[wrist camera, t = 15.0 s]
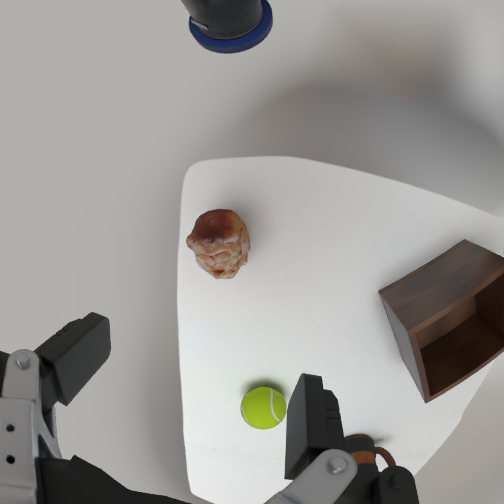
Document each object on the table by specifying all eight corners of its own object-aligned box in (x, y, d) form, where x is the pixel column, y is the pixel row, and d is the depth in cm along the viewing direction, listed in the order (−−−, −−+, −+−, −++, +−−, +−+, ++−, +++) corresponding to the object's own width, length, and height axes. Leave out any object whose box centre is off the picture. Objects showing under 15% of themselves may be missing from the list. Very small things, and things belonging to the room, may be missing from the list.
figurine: (219, 263, 37) (180, 317, 23) (205, 206, 35) (154, 227, 21) (265, 255, 36) (253, 308, 22) (253, 196, 34) (231, 210, 20)
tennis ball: (255, 411, 43) (250, 440, 37) (236, 384, 42) (229, 414, 35) (292, 401, 42) (292, 431, 35) (276, 373, 41) (274, 404, 34)
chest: (402, 359, 38) (425, 404, 27) (378, 291, 36) (406, 331, 25) (478, 311, 34) (513, 343, 24) (464, 239, 32) (510, 260, 22)
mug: (385, 447, 44) (395, 488, 33) (331, 458, 46) (335, 501, 35) (390, 425, 42) (404, 469, 31) (331, 437, 44) (336, 485, 33)
